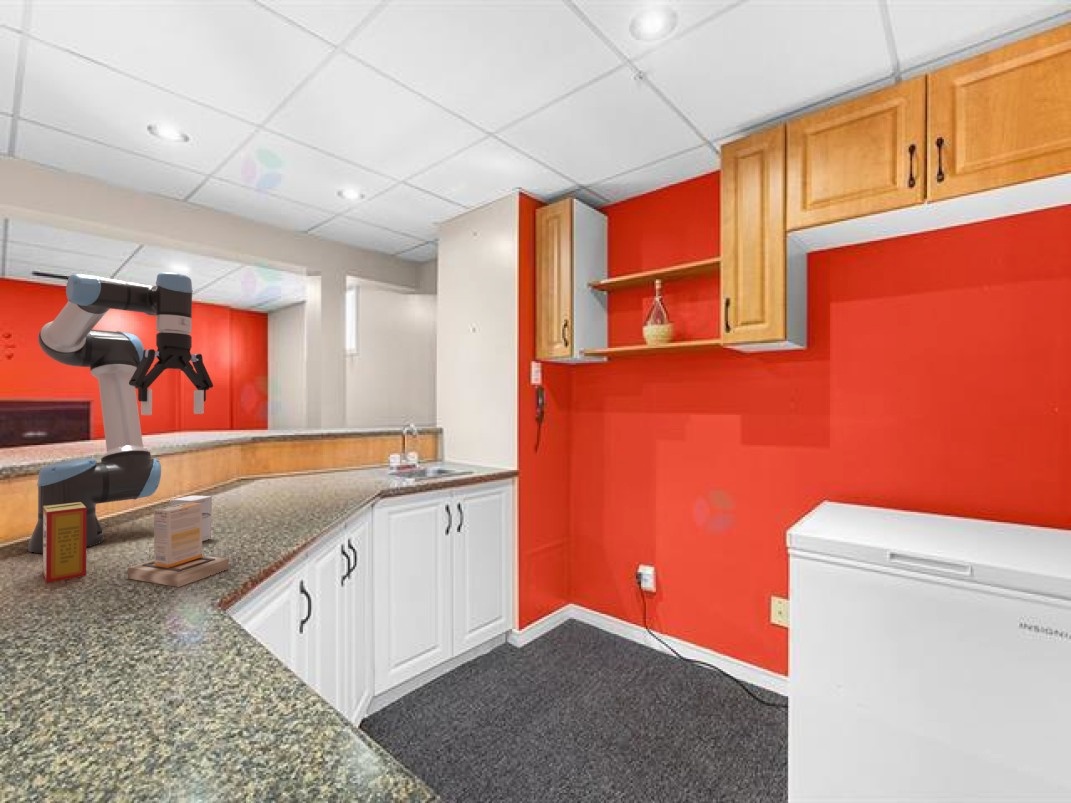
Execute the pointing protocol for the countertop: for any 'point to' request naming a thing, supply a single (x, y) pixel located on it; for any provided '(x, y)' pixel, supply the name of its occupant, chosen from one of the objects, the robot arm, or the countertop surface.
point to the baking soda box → (64, 541)
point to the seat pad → (178, 571)
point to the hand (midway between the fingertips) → (173, 414)
